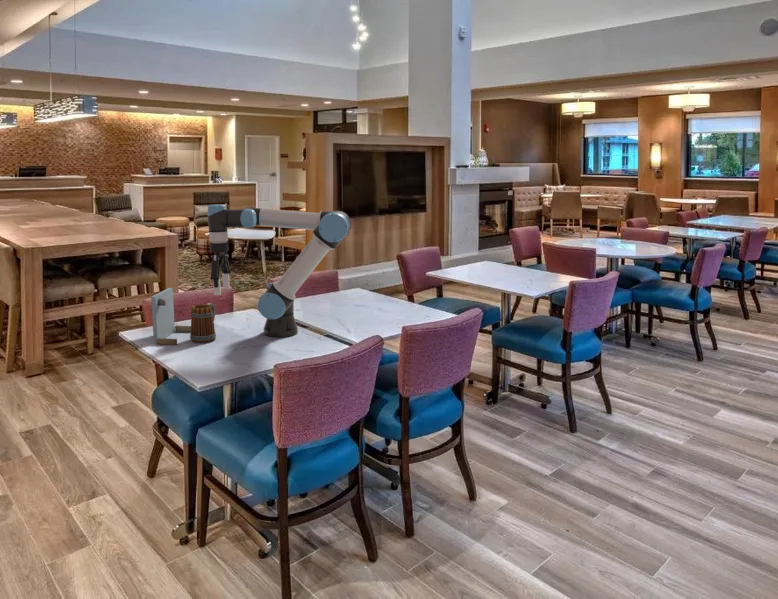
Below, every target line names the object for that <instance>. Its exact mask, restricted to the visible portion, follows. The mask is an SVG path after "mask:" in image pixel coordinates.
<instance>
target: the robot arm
mask: <svg viewBox="0 0 778 599" xmlns="http://www.w3.org/2000/svg"><path fill="white" fill-rule="evenodd" d="M207 222H208V223H207V224H208V234H207V236H208V237H209V238H208V240H209V242H210V243H209V251H210V252H212V253H214V255H212V256H211V272H210V280H211V281H212V286H213V296H221V295H222V291H221V290H222V289H223V290H226V289H229V290H230V289H231V288H230V287H231V286H230V274H231V273H232V271H231V268H230V263H229V258H228V251H229V248H230V247H229V234H228V233H229V232H228V228H229V229H230V228H235V229H236V228H246V229H249V228H255V227H256V226H258V227H259V226H261V227H274V228H284V229H292V230H293V229H294V230H295V229H297V230H307V231H312V238H311V239H310V241H309V242H308V243H307V244H306V246H305V247H304V248H303V249H302V251H301V252H300V253H299V254H298V256H297V257H296V258H295V260H294V261H293V262H292V264H291V265H290V266H289V267H288V269H287V270H286V271H285V272H284V273H283V275H282V276H281V278H280V279H279V280H277V281H273V282H268V283H267V285H266V291H265V292H264V293H263V294H262V295H260V296H259V299H258V301H257V308H258V309H257V310H258V312H259V313H260V315H261V316H262V317H263V318H265V319H266V321H265V324H264V327H263V334H264V335H265V336H268V337H273V338H274V337H275V338H285V337H286V338H287V337H292V336H295V335H297V334H298V332H299V327H298V325H297V322H296V319H295V315H294V314H295V313H294V311H295V308H294V307H295V306H294V301H295V300H296V293H297V292H298V290H299V289H300V288H301V287H302V286H303V284H304V282H306V281H307V279H308V278H309V276H311V275H312V273H313V272H314V270H315V269H316V268H317V266H318V265H319V264H320V263H321V261H322V260H323V259H324V258H325V256H327V254H328V253H329V251H333V250H336V249H337V247H338V246H339V244H341V243H342V241H343V239H345V238H346V236H347V235H348V234H349V233H350V231H351V228H352V222H351V218H350V217H349V215H348V214H347V213H346V212H344V211H342V210H331V211H330V210H328V211H327V210H326V211H325V210H320V211H319V212H309V211H308V212H307V211H298V210H297V211H296V210H285V209H274V208H272V209H271V208H258V207H254V206H247V207H245V208H241V209H240V208H239V209H238V208H237V209H234V208H233V209H228V208H227V206H226V205H225V204H209V205H208V206H207ZM221 271H222V289H221V279H220V276H221V275H220V274H221Z"/></svg>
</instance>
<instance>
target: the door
mask: <svg viewBox="0 0 778 599" xmlns="http://www.w3.org/2000/svg"><path fill="white" fill-rule="evenodd" d="M150 300H151V314H152V315H151V317H152V334H153V344H155V345H157V338H169V337H170V336H171V335H172V334H174V333H175V326H176V325H175V309H174V308H175V305H174V304H175V303H174V289H173V287H168V288H166V289H164V290H162V291H159V292H158V293H156V294H154V295H152V296H151V298H150ZM173 332H174V333H173Z"/></svg>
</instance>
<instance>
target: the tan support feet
mask: <svg viewBox="0 0 778 599" xmlns="http://www.w3.org/2000/svg"><path fill="white" fill-rule="evenodd" d="M175 332H177V333H178V332H179V333H181V332H182V333H191V325H175ZM175 332H174V333H175ZM177 345H178V338H170V337H167V338H157V344H156V346H177Z"/></svg>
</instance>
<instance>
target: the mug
mask: <svg viewBox="0 0 778 599" xmlns="http://www.w3.org/2000/svg"><path fill="white" fill-rule="evenodd" d="M190 317H191V318H190V320H191V321H190V326H191V332H190V335H189V338H190V341H191V342H192V343H195V344H208V343H209V344H210V343H213V342H214V341H215V340H216V336H217V334H216V329H215V317H216V307H215V304H214V303H213V302H207V303H205V304H202V303H201V304H194V305H192V306H191V312H190Z"/></svg>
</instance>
